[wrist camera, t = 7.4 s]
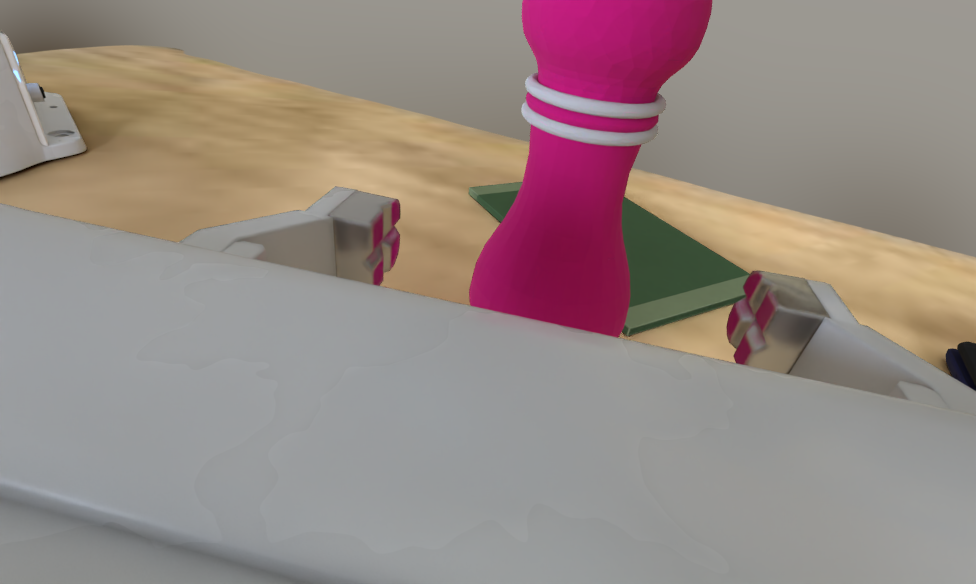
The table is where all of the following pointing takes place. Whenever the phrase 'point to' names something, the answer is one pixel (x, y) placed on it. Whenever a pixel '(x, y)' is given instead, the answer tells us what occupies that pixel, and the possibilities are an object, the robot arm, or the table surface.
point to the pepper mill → (583, 156)
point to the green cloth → (653, 265)
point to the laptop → (963, 363)
